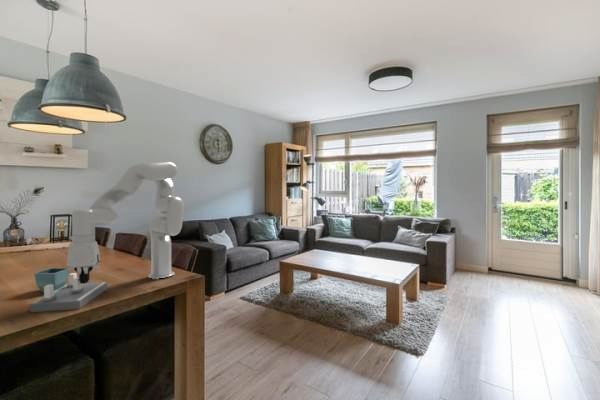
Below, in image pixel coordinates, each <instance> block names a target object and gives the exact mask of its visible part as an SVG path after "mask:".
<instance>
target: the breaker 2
mask: <svg viewBox="0 0 600 400" xmlns="http://www.w3.org/2000/svg"><path fill="white" fill-rule="evenodd" d="M77 275H78V272H72V273H69V274H68V283H67V284H68V285H67V284H66V285H67V287H73V279H75V278H78V276H77Z"/></svg>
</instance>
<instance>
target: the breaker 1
mask: <svg viewBox="0 0 600 400" xmlns="http://www.w3.org/2000/svg"><path fill="white" fill-rule="evenodd" d="M43 297H44V298H42V297H41V298H42V299H41V301H50V300H52V299H54V298H56V295H54V284H53V285H47V286H44V292H43Z"/></svg>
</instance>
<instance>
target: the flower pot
mask: <svg viewBox="0 0 600 400" xmlns="http://www.w3.org/2000/svg"><path fill="white" fill-rule="evenodd" d="M69 274H70V269H69V267H68V268H67V267H65V268H64V267H63V268H62V267H58V268H57V267H51V268H46V269H44V270H41V271H36V272H35V273H34V278H35V283H36V286H37V288H38V289H39V290H40V291H41V292H42V293H44V286H47V285H53V284H54V291H55V290H57V289H59V288H61V287H63V286H65V285H67V281H68V280H69Z"/></svg>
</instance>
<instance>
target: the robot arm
mask: <svg viewBox="0 0 600 400" xmlns="http://www.w3.org/2000/svg"><path fill="white" fill-rule="evenodd" d="M177 174H178V167H177V165H176V164H175V163H173V162H171V161H161V162H160V161H159V162H158V161H157V162H143V163H141V162H140V163H133V164H132V165H130V167H129V168H128V169H127V170H126V171H125V172H124V173H123V175H122V176H121V178H120V179H119V180H118V181H117V182H116V183H115V185H113V186H112V187H110V188H109V189H108V190H107V191H105V192H104V193H102V194H101V195H100V196H98V198H97V199H96V200H94V202H93V203H92V204H91V205H90V207H89V208H80V209H79V208H78V209H74V210H73V211H72V212H71V213H72V214H71V219H72V222H71V223H72V224H71V225H72V226H71V228H72V231H71V232H72V233H71V234H72V235H70V236H69V237H68V240H70V241H71V242H70V243H69V245H68V250H67V256H66V257H67V258H66V259H67V260H66V265H67V267H68V268H69V270H72V271H75V273H77V275H78V278H79V281H80V284H85V283H89V282H90V273H91V271H93V270H95V269H98V268H99V267H100V260H101V259H100V250H99V249H100V247H99V245H98V240H97V241H96V226H111V225H113V224H116V222H117V221H118V219H119V215H118V213H117V211H116V210H114V209H112V208H113V207H115V206H116V205H117V204H119V203H121V202H124V201H126V200H128V199H130V198H132V197H133V196H134V195H135V193H137V191H138V189H139V188H140V187H141V186H142V185H143V183H144V182H151V181H154V182H155V185H156V194H155V201H154V210H155V211H156V213H158V214H161V215H166V216H155V217H153V218H152V219H151V220H150V221H149V224H148V231H149V234H150V250H151V251H150V253H151V254H150V256H151V257H150V258H151V259H150V260H151V262H150V263H151V265H150V266H151V267H150V273H149V274H148V275H147V278H148V277H149V278H148V279H150V278H152V279H151V280H160V279H159V278H165V277H169V276H172V275H174V276H175V271H173V270H172V239H171V236H172V237H174V236H177V235H178V234H180V232H181V230H182V228H183V222H184V213H185V204H184V201H183V200H182V198H180V197H178V196H175V185H174V182H173V180H172V179H173V178H175V177H176V176H177ZM172 277H173V276H172ZM169 278H170V277H169ZM165 279H166V278H165Z"/></svg>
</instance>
